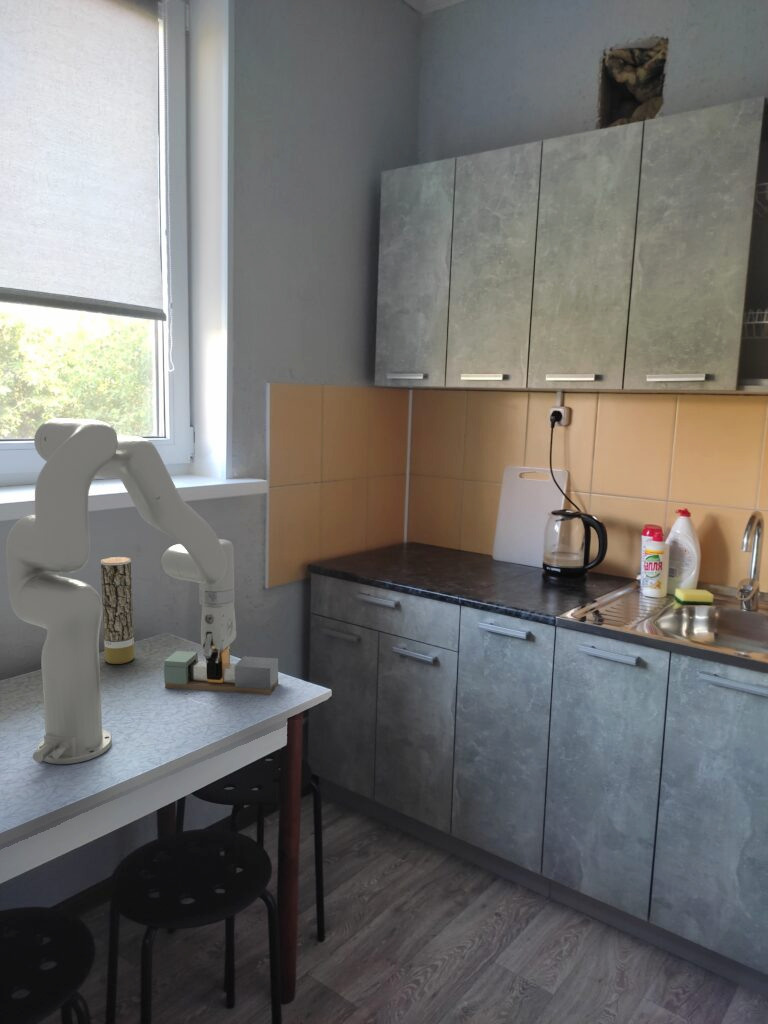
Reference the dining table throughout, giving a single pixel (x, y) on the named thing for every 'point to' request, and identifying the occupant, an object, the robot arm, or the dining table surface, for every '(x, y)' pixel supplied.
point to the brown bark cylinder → (117, 609)
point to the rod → (227, 669)
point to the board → (219, 687)
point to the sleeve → (256, 672)
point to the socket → (179, 667)
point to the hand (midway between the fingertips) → (218, 674)
